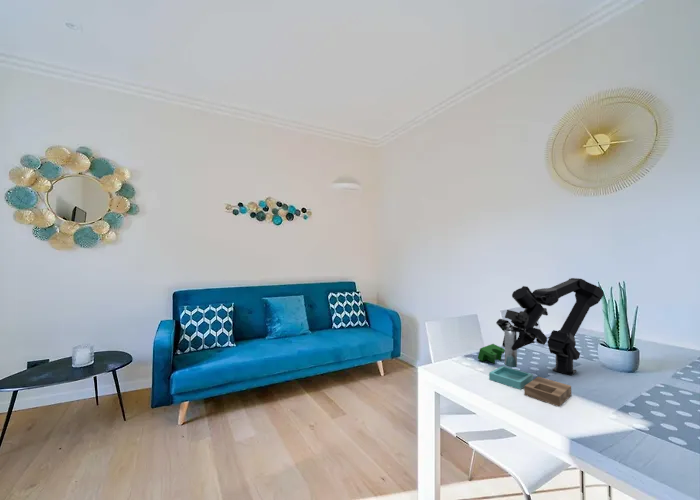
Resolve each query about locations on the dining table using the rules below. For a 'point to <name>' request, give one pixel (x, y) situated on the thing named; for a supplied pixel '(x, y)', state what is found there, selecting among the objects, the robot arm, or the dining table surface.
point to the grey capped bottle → (510, 347)
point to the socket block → (548, 391)
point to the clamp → (490, 353)
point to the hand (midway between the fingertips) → (507, 348)
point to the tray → (511, 377)
